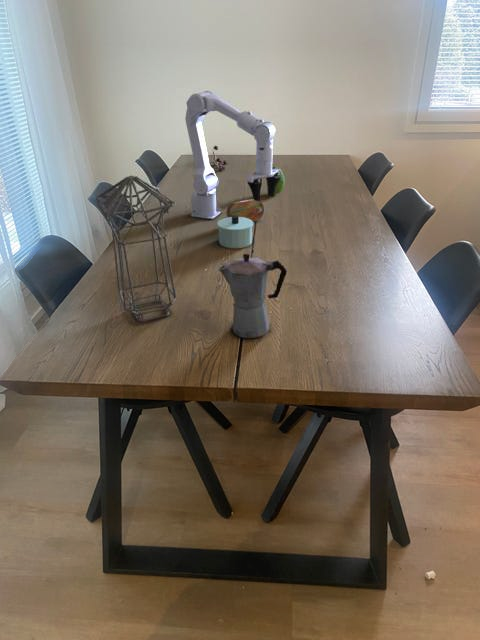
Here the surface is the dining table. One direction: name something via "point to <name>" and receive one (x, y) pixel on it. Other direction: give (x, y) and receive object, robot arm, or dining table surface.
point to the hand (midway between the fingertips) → (263, 198)
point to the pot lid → (235, 223)
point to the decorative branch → (218, 161)
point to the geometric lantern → (167, 204)
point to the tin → (246, 209)
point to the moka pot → (250, 293)
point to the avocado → (279, 182)
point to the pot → (235, 238)
